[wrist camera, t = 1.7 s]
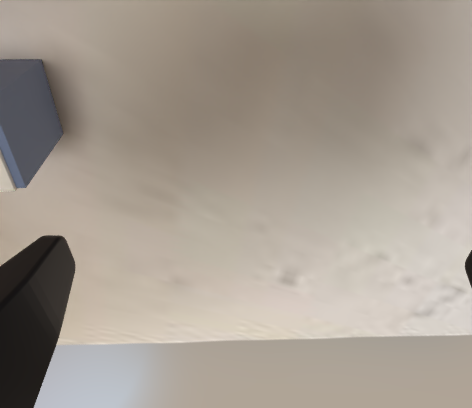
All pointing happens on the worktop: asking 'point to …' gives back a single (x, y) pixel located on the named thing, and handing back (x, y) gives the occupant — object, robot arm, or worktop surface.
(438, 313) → the worktop surface
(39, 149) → the boxed book
